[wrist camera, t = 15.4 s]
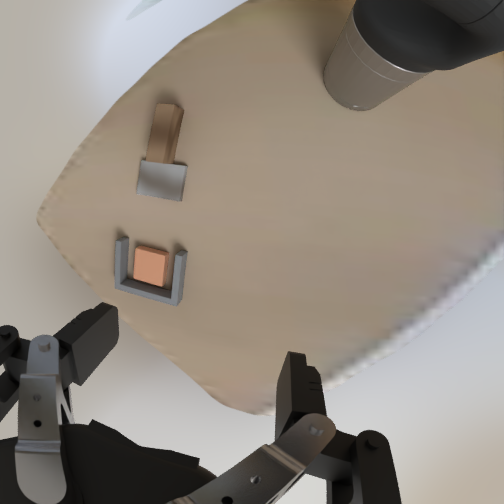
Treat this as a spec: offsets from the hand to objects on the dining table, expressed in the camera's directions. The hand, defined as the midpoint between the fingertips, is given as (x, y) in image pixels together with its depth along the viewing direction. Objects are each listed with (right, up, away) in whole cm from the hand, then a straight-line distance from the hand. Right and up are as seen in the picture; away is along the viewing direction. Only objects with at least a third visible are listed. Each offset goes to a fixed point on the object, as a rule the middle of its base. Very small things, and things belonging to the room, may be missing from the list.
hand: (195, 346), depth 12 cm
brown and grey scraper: (-10, +18, +25) cm, 33 cm away
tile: (-13, +2, +30) cm, 33 cm away
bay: (-13, +2, +30) cm, 33 cm away
